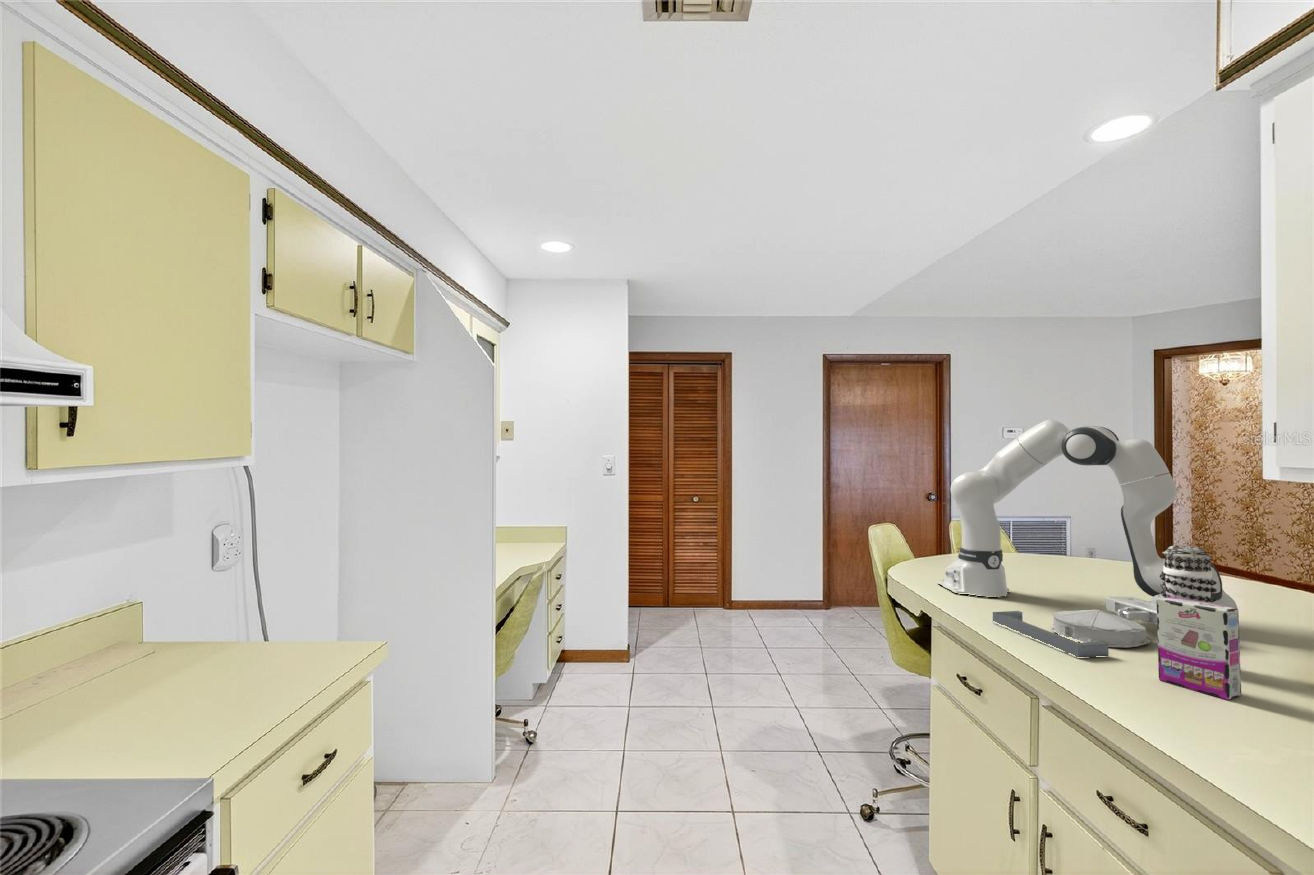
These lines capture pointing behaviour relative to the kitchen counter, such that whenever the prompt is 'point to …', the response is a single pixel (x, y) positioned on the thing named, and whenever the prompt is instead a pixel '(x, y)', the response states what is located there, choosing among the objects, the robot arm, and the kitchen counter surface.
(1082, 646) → the gray u-shaped pull
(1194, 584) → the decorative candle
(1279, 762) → the kitchen counter surface
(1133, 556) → the robot arm
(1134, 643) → the food container
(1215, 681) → the candy bar box
